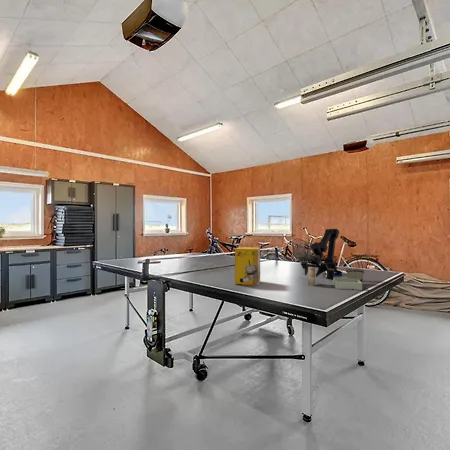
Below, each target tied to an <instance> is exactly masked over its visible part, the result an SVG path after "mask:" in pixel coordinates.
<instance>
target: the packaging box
mask: <svg viewBox="0 0 450 450" xmlns="http://www.w3.org/2000/svg"><path fill="white" fill-rule="evenodd" d="M260 282H261V247H254V246H253V247H252V246H251V247H249V246H247V247H242V246H241V247H239V246H238V247H236V248H235V249H234V285H235V284H242V285H241V286H255V285H258V286H259V284H260Z"/></svg>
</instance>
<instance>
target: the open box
mask: <svg viewBox="0 0 450 450" xmlns="http://www.w3.org/2000/svg"><path fill="white" fill-rule="evenodd" d="M332 284H333V287H334V289H336V290H337V289H338V290H339V289H340V290H352V289H354V290H355V291H362V290H363V283H362V282H361V281H360V280H359V279H354V278H346V277H335V278H333V279H332Z"/></svg>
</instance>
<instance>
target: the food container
mask: <svg viewBox="0 0 450 450" xmlns="http://www.w3.org/2000/svg"><path fill="white" fill-rule="evenodd" d="M345 273H346V277H347V278H354V279H359V280H360V281H361V282H362V284H363V282H364V274H365V271H364V269H361V268H347V269H346V270H345Z"/></svg>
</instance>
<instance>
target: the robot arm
mask: <svg viewBox="0 0 450 450" xmlns="http://www.w3.org/2000/svg"><path fill="white" fill-rule="evenodd" d="M339 235H340V230H339V229H338V228H326V229H325V231H324V233H323V236H322V238H321V240H320V241H319V242H317V241H316V242H314V243H312V244H310V249H311V252H312V253H313V254H311V255H308V259H307V260H308V261H309V262H307V261H301V262H300V265H301V268H302V269H303V270H304V276H308V267H313V268H315V269H317V271H316V272H315V278H317V277H318V276H320V275H321V274H322V273H325V272H326V276H325V279H327V280H333V278H336V277H335V272H337V271H338V266H337V264H336V261H335V259H334V258H335V250H336V249H335V248H336V240H338V238H339ZM326 252H327V255H326V258H324V257H325V256H324V253H326ZM323 258H324V259H323ZM322 259H323V260H324V261H323V262H322Z"/></svg>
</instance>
